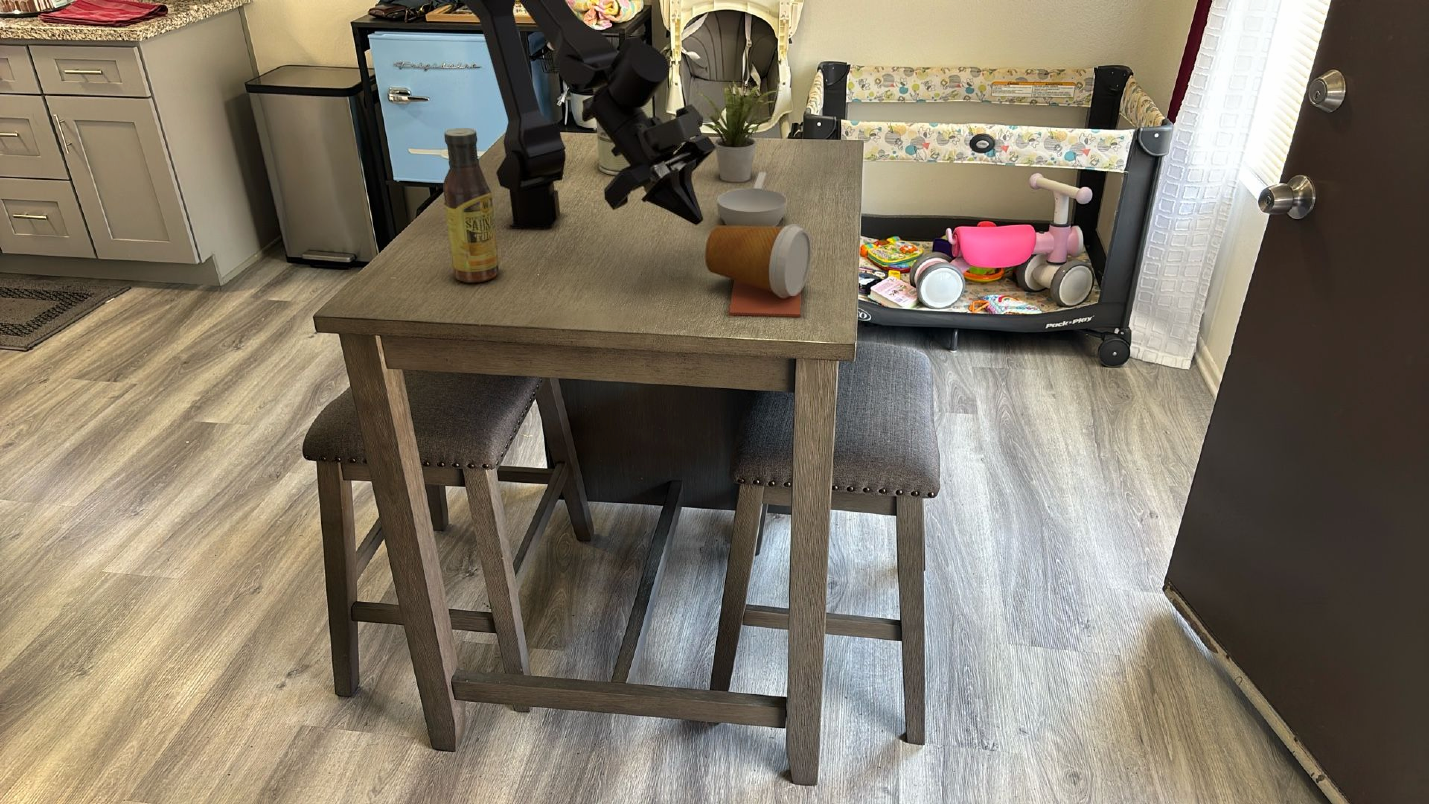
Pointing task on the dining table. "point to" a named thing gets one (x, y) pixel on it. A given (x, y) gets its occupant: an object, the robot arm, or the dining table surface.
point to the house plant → (736, 134)
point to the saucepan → (752, 205)
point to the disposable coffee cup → (761, 256)
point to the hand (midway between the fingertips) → (700, 222)
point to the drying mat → (762, 302)
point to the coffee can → (605, 146)
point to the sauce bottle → (469, 210)
